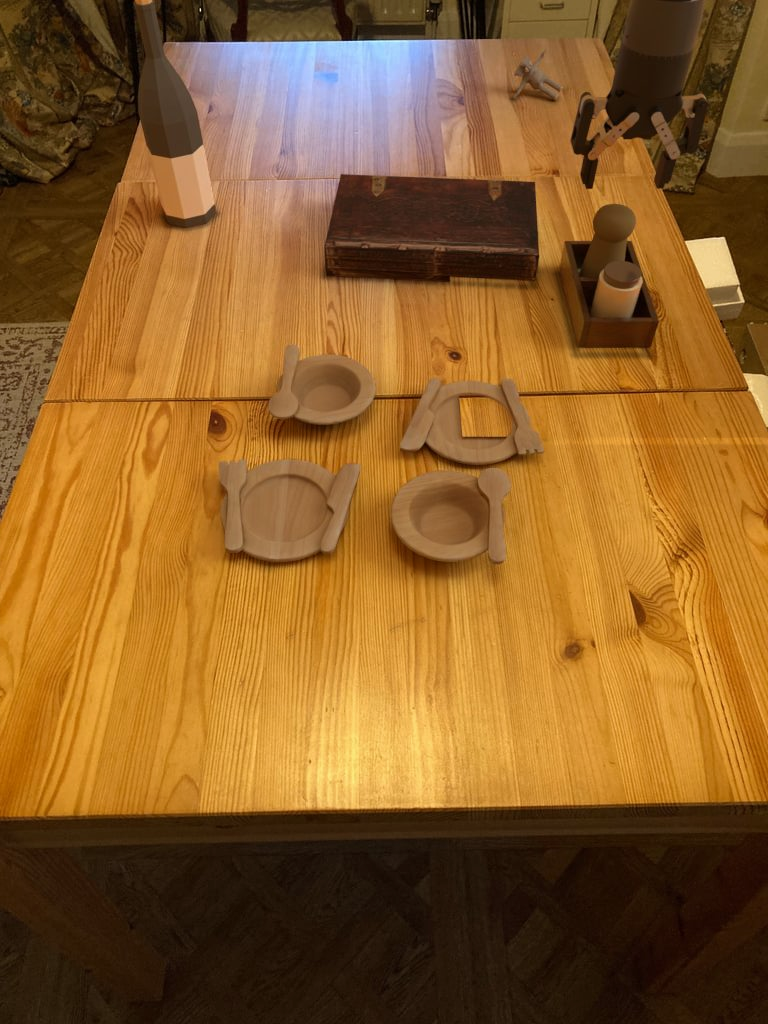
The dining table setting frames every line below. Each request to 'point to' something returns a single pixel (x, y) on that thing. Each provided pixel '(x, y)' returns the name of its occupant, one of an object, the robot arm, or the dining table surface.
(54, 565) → the dining table surface
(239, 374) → the dining table surface
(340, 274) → the hardback book
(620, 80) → the robot arm
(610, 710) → the dining table surface
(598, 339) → the box
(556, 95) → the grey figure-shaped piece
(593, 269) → the pepper mill
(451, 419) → the tableware set
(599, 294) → the spice pot
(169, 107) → the wine bottle
